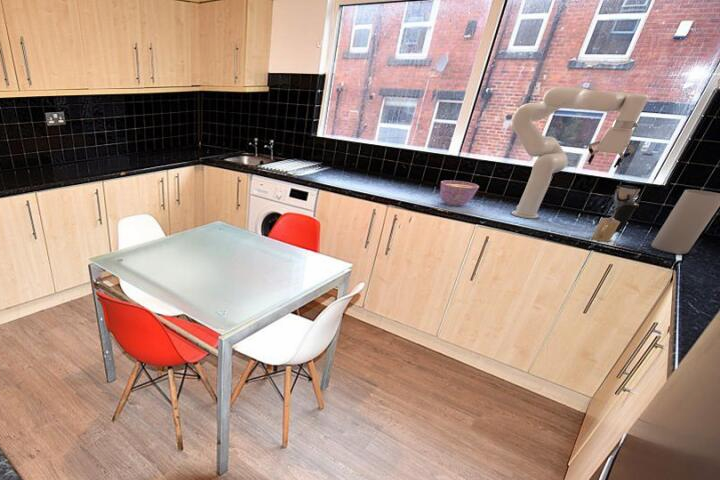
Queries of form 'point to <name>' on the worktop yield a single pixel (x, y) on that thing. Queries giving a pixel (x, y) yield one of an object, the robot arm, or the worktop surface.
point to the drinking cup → (625, 214)
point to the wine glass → (622, 199)
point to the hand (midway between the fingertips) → (601, 165)
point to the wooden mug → (605, 230)
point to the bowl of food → (457, 192)
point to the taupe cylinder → (686, 221)
